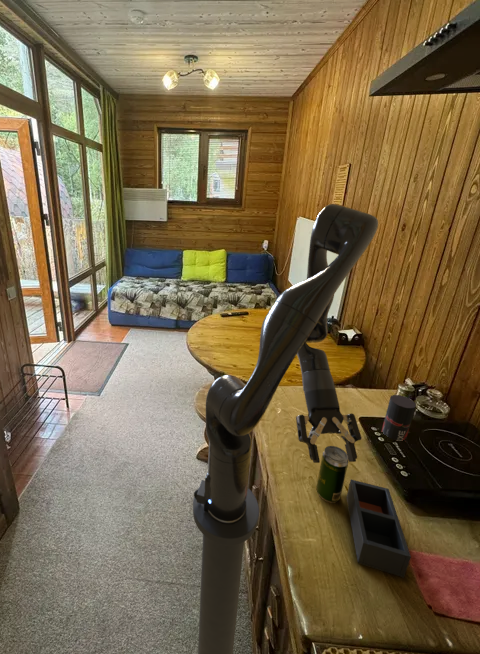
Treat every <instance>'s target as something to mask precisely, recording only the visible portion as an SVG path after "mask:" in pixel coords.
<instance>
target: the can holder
mask: <svg viewBox="0 0 480 654" xmlns="http://www.w3.org/2000/svg"><path fill="white" fill-rule="evenodd" d="M345 497H346V503H347V509H348V514H349V520H350V521H349V522H350V527H351V532H352V538H353V543H354V549H355V554H356V561H357V564H360V565H362V566H366V567H368V568H372V569H375V570H378V571H381V572H385V573H388V574H391V575H394V576H397V577H401V578H405V576H406V573H407V570H408V567H409V564H410V561H411V558H412V555H411V553H410V549H409V547H408V543H407V540H406V537H405V534H404V532H403V528H402V525H401V523H400V518H399V516H398V514H397V510H396V507H395V504H394V501H393V498H392V494H391V492H390V489H389V488H387V487H382V486H379V485H375V484H372V483H367V482H363V481H359V480H355V479H350V480H349V485H348V489H347V493H346V496H345Z"/></svg>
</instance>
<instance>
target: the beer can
mask: <svg viewBox="0 0 480 654" xmlns="http://www.w3.org/2000/svg"><path fill="white" fill-rule="evenodd" d="M348 466H349V460H348V455H347V452H346V450H344V449H342V448H341V447H338V446H335V445H328V446H326V447H325V448H324V450H323V451H322V456H321V460H320V466H319V472H318V477H317V481H316V492H317V494H318V496H319V497H320V498H321V500H323V501H325V502H327V503H329V504H330V503H331V504H335V503H337V502H338V501H339V500H341V498H342V493H343V487H344V483H345V479H346V474H347V469H348Z"/></svg>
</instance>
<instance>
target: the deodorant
mask: <svg viewBox="0 0 480 654" xmlns="http://www.w3.org/2000/svg"><path fill="white" fill-rule="evenodd" d="M416 407H417V404H416V403H415V402H414V400H412V399H411V398H409V397H407V396H405V395H400V394H392V395H390V397H389V401H388V405H387V409H386V413H385V415H384V416H385V417H384V420H383V424H382V427H381V432H383V434H384V435H386V436H387V437H389V438H391V439H393V440H396V441H403V440H405V439H406V440H407V437H408V434H409V431H410V428H411V424H412V420H413V416H414V413H415V410H416Z"/></svg>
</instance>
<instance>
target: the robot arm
mask: <svg viewBox="0 0 480 654" xmlns="http://www.w3.org/2000/svg"><path fill="white" fill-rule="evenodd" d="M378 228H379V219H378V218H377V217H376V216H375V215H373V214H371V213H367V212H365V211H361V210H358V209H354V208H351V207H348V206H344V205H341V204H336V203H329V204H327V205H325V206H324V207H323V208H322V209H321V211H320V212H319V213H318V215H317V217H316V219H315V221H314V223H313V226H312V230H311V234H310V239H309V248H308V258H307V269H306V270H307V273H306V279H303V281H300V282H298V283H297V284H294V285H292V286H290V287H288V288H287V289H285V290H284V291H283V292H281V293H280V294H279V295H278V297H277V298H276V300H275V302H274V303H273V304H272V305H271V308H270V309H269V311H268V312H267V314H266V316H265V317H264V319H263V321H262V324H261V327H260V336H259V348H258V356H257V361H256V364H255V367H254V369H253V371H252V374H251V375H250V377H249V379H248V380H247V382H246V383H244V382H243V380H241V379H240V378H238V377H237V376H235V375H232V374H231V375H230V374H224V375H221V376H219V377H218V378H216V379H215V380H214V381H213V382H212V383H211V385H210V387H209V388H208V391H207V393H206V398H205V432H206V437H207V439H208V458H207V459H208V461H207V472H206V475H205V478H204V480H203V479H201V480H200V484H199V486H198V488H199V489H198V488H197V489H196V490H194V492H193V498H194V497H195V499H196V500H197V502H198V503H201V504H204V511H206V512H208V513H209V514H210V516H211V517H212V518H213V519H214V520H216V521H217V522H219V523H222V524H234V523H236V522H238V521H240V520H241V519H242V518H243V516H244V514H245V511H246V497H247V490H248V488H249V486H248V485H249V474H250V465H251V457H252V456H251V454H252V445H253V443H252V441H253V440H252V437H251V434H250V433H251V432H252V431H253V430H254V429H255V428H256V427H257V426H258V424H259V423H260V422H261V421H262V419H263V417H264V415H265V414H266V412H267V409H268V408H269V406H270V404H271V402H272V400H273V398H274V395H275V393H276V392H277V390H278V388H279V386H280V384H281V382H282V380H283V378H284V377H285V375H286V373H287V371H288V369H289V368H290V366H291V365H292V363H293V362H294V360H295V358H296V356H297V359H298V363H299V367H300V372H301V383H302V391H303V395H304V399H305V404H306V409H307V415H304V414H299V415H297V416H296V417H295V420H296V421H295V422H296V429H297V437H298V442H300V443H303V444H306V445H307V449H308V454H309V459H310V460H311V461H312V463H313V464H319V463H321V460H320V456H319V455H320V454H319V450H318V445H317V444H316V442H317V440H318V438H319V437H320V436H321V435H326V434H329V435H334V434H336V435H337V436H338V437H339V438H341V440H342V441H343V442H344V443H345V444H344V447H345V452H346V454H347V455H348V463H354V462H355V463H356V462H357V459H358V455H357V450H356V446H355V443H356V442H358V441H361V440H362V435H361V432H360V429H359V426H358V421H357V419H356V415H355V413H347V414H342V413H341V410H340V409H341V408H340V407H341V406H340V403H339V397H338V394H337V390H336V386H335V380H334V378H333V376H332V374H331V369H330V365H329V361H328V357H327V356H328V355H327V353H326V352H325V351H324V350H323V349H320V348H316V347H311V346H310V345H309V344H318V343H321V342H323V341H325V340H326V338H327V337H328V332H329V331H328V330H329V329H328V316H329V315H328V314H329V312H330V310H331V306H332V304H333V302H334V299H335V294H336V292H337V291H338V289H339V287H340V286H342V283H343V282H344V281H345V279H346V278H347V276H348V275H349V274H350V272H351V271H352V270H353V269H354V267H355V265H356V264H357V263H358V262H359V260H360V259H361V257H362V256H363V255H364V252H365V251H366V250H367V249H368V247H369V246H370V244H371V243H372V241H373V239H374V237H375V235H376V234H377V230H378ZM328 252H331V253H333V254H335V255H336V257H335V258H334V260H332V261H331V262H330V264H328V259H327V258H328V257H327V256H328ZM308 422H309V424H310V425H311V426H312V427H311V429H310V431H309V433H307V432H308V431H307V425H308ZM343 422H344V424H346V425H347V428H346V427H345V426H344V425H343ZM308 434H309V435H308Z"/></svg>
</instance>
